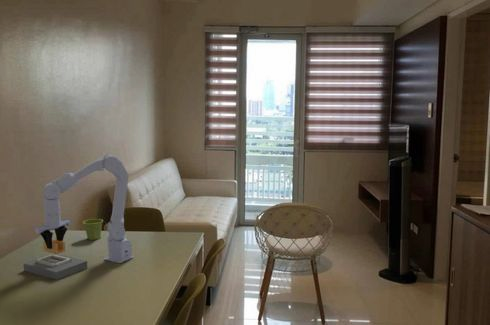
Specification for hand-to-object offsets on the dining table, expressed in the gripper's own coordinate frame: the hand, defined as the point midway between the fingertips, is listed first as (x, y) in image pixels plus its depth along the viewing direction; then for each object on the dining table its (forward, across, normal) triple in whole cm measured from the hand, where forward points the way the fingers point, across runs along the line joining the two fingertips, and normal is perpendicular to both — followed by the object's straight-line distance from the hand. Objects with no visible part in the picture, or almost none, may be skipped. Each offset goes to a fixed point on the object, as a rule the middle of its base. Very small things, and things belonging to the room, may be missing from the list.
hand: (54, 246), depth 174 cm
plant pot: (+9, -35, -19) cm, 41 cm away
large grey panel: (+8, +2, +2) cm, 9 cm away
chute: (+2, 0, 0) cm, 2 cm away
